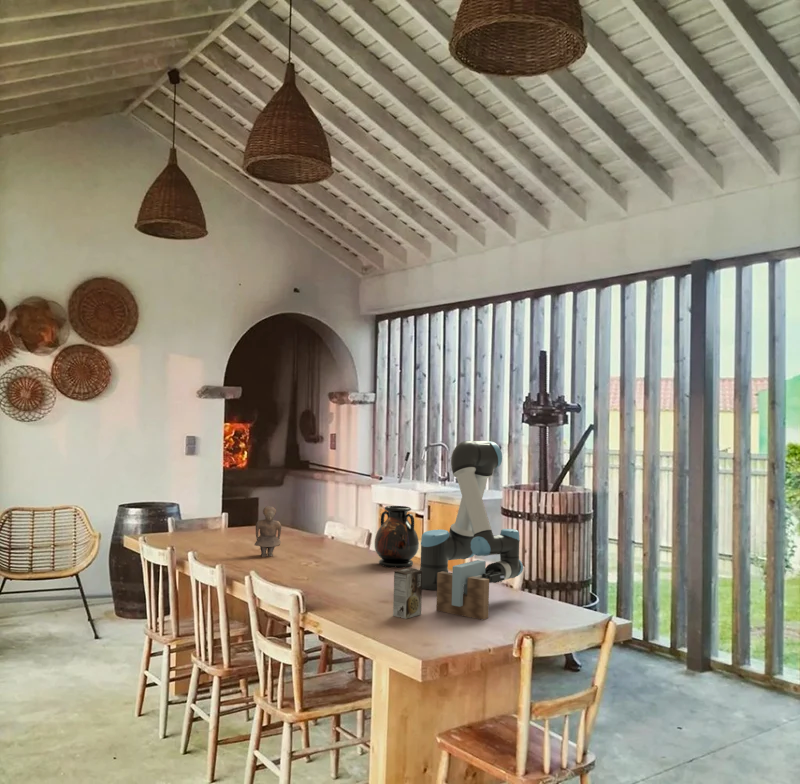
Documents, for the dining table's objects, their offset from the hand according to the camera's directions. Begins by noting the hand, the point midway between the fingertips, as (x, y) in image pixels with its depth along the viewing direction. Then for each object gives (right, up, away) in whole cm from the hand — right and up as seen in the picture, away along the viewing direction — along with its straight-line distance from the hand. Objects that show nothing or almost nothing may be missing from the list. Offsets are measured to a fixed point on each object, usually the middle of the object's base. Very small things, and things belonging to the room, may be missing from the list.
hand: (467, 580), depth 292 cm
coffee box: (-22, -11, -6) cm, 26 cm away
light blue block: (+1, -8, +1) cm, 8 cm away
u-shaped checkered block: (-2, -12, -2) cm, 12 cm away
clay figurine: (-91, -13, +104) cm, 139 cm away
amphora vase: (-27, -14, +90) cm, 95 cm away
